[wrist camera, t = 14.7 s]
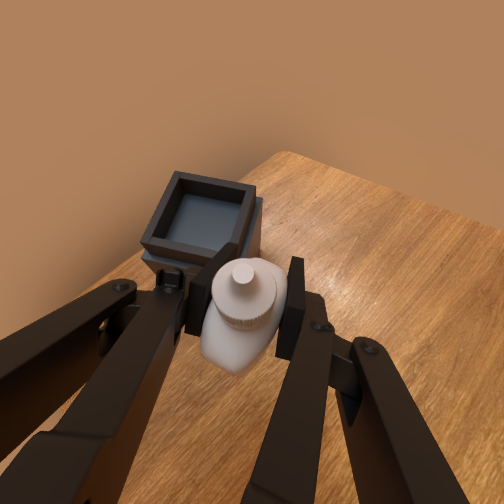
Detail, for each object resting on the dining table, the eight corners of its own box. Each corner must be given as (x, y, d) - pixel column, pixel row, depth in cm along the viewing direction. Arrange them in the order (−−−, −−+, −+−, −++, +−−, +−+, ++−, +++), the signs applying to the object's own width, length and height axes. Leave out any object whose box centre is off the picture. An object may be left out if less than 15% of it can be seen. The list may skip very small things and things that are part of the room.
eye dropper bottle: (199, 330, 19) (132, 266, 8) (262, 289, 21) (273, 188, 10) (231, 386, 18) (198, 394, 7) (297, 337, 19) (356, 280, 8)
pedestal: (174, 295, 44) (129, 246, 28) (197, 235, 50) (171, 164, 33) (243, 312, 43) (237, 271, 27) (260, 249, 48) (263, 182, 32)
